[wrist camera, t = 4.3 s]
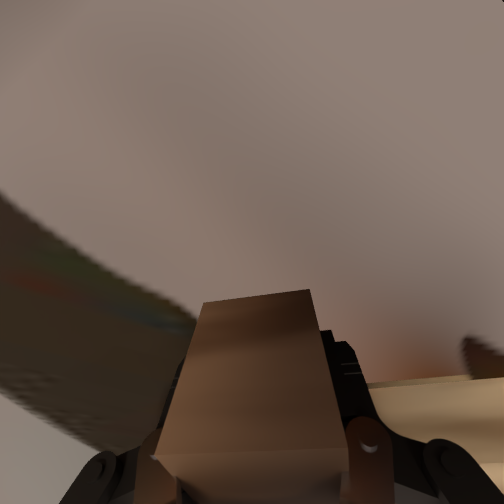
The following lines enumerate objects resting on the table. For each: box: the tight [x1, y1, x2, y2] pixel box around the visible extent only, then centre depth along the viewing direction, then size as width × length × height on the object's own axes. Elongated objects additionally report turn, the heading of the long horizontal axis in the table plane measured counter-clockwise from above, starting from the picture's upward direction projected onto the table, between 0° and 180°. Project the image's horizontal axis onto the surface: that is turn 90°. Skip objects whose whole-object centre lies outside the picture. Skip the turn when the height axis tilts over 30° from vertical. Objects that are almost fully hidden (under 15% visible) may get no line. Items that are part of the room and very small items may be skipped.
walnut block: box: [154, 289, 349, 504], centre depth 10 cm, size 5×5×6 cm
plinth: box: [366, 375, 504, 495], centre depth 15 cm, size 10×10×4 cm
